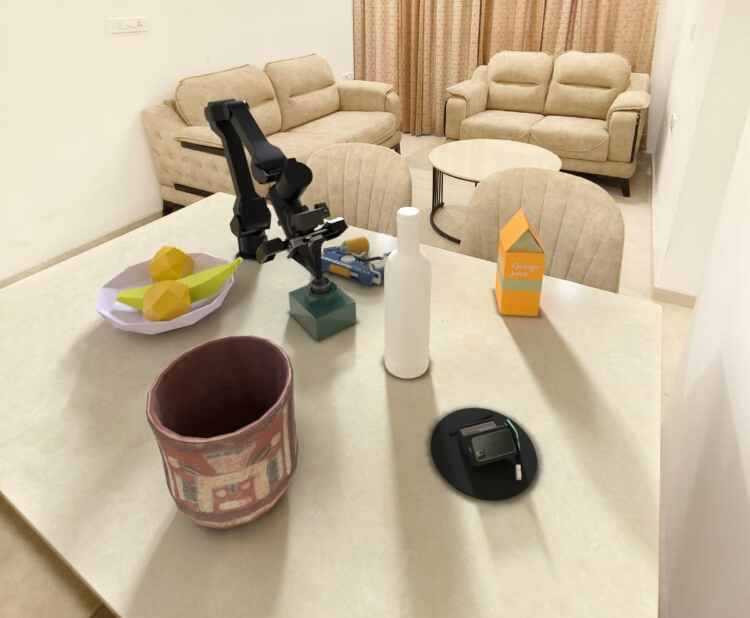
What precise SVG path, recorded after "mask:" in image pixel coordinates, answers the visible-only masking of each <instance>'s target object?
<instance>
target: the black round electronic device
mask: <svg viewBox="0 0 750 618" xmlns="http://www.w3.org/2000/svg"><path fill="white" fill-rule="evenodd" d="M430 454H431V458H432V461H433V464H434V466H435V468H436V469H437V471H438V473H439V474H440V476H441V477H442V478H443V479H444V481H446V482H447V483H448V484H449V485H450V486H451V487H452V488H454V489H456V490H457V491H459V492H460V493H463V494H464V495H466V496H469V497H472V498H474V499H478V500H483V501H491V502H492V501H495V502H497V501H504V500H508V499H511V498H512V499H513V498H515V497H517V496H519V495H520V494H522V493H523V492H525V491H526V490H527V489H528V488H529V486H530V485H531V484H532V482H533V480H534V478H535V475H536V473H537V469H538V457H537V451H536V448H535V446H534V443H533V442H532V440H531V438H530V437H529V435H528V433H527V432H526V431H525V430H524V428H522V427H521V426H520V425H519V424H518V423H517V422H515V421H514V420H513V419H512V418H510V417H508V416H506V415H505V414H503V413H500V412H497V411H495V410H491V409H489V408H482V407H467V408H461V409H460V408H459V409H457V410H455V411H452V412H450V413H448V414H446V415H445V416H443V418H441V419H440V420H439V422H437V424H436V426H435V427H434V428H433V431H432V434H431V438H430Z"/></svg>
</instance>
